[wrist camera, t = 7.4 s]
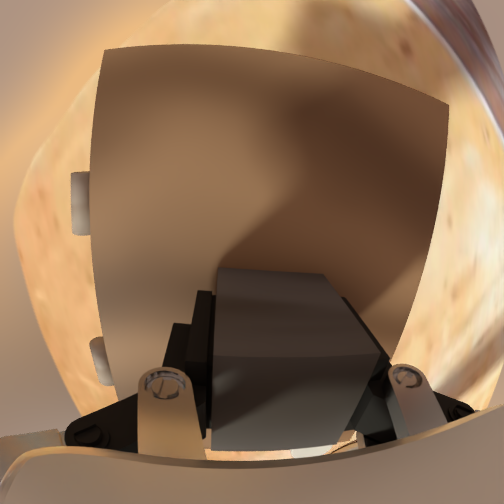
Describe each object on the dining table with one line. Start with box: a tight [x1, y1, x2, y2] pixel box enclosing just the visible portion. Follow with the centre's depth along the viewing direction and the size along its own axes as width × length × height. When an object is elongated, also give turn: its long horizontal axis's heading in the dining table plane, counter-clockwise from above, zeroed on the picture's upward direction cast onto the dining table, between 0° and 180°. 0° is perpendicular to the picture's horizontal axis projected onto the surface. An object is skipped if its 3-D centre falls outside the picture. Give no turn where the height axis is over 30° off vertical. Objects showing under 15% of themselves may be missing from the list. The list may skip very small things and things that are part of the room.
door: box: [71, 44, 449, 451], centre depth 10 cm, size 20×15×6 cm
